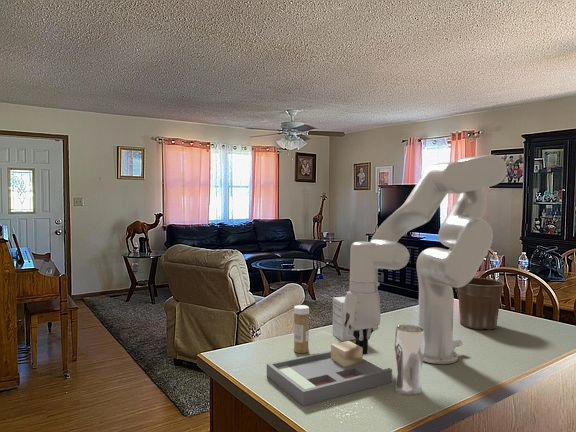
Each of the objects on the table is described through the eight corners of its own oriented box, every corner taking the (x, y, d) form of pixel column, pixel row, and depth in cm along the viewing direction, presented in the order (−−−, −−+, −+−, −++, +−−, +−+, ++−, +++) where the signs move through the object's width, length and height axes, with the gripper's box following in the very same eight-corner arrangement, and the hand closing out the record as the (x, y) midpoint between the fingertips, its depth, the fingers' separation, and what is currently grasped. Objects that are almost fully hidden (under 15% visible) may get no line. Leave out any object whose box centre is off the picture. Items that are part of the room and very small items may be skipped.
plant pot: (460, 316, 168) (461, 275, 167) (506, 323, 158) (508, 280, 158) (448, 326, 155) (449, 281, 154) (498, 335, 145) (499, 287, 144)
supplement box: (351, 332, 147) (352, 295, 146) (362, 339, 140) (362, 300, 139) (331, 334, 145) (332, 297, 144) (341, 341, 138) (341, 302, 137)
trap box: (347, 357, 124) (348, 346, 124) (391, 381, 108) (392, 369, 108) (266, 375, 111) (266, 363, 111) (303, 406, 95) (303, 391, 95)
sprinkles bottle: (311, 351, 128) (312, 307, 128) (299, 354, 126) (299, 309, 125) (302, 347, 132) (303, 303, 131) (290, 350, 130) (290, 305, 129)
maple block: (348, 354, 121) (348, 340, 121) (362, 362, 116) (362, 347, 115) (330, 358, 118) (331, 344, 118) (344, 366, 113) (344, 351, 112)
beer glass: (389, 383, 107) (391, 324, 106) (417, 383, 108) (418, 323, 107) (399, 396, 100) (400, 333, 100) (428, 396, 101) (430, 332, 100)
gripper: (375, 282, 125) (373, 344, 126) (332, 286, 118) (331, 352, 119) (393, 287, 119) (391, 353, 120) (349, 292, 111) (347, 362, 112)
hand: (361, 352), depth 119 cm, fingers closed
